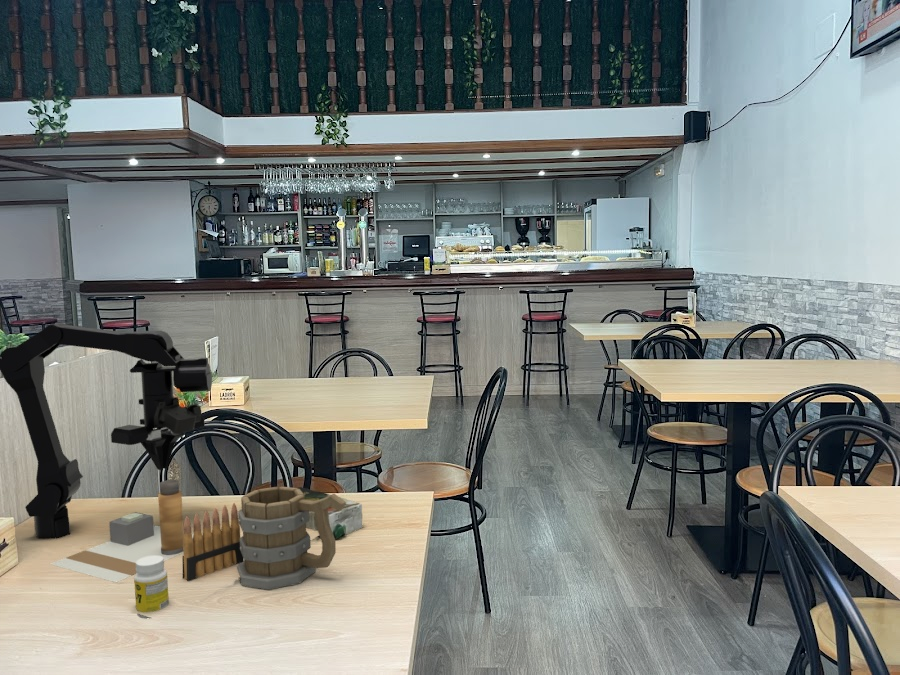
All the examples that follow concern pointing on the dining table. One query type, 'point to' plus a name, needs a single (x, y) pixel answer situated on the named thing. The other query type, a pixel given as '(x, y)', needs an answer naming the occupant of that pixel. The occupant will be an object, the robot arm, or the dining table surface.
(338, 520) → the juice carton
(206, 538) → the ammunition clip
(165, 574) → the supplement bottle
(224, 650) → the dining table surface
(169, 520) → the tan cylinder
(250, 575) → the tankard
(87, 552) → the floor panel
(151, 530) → the grey cube-like block
